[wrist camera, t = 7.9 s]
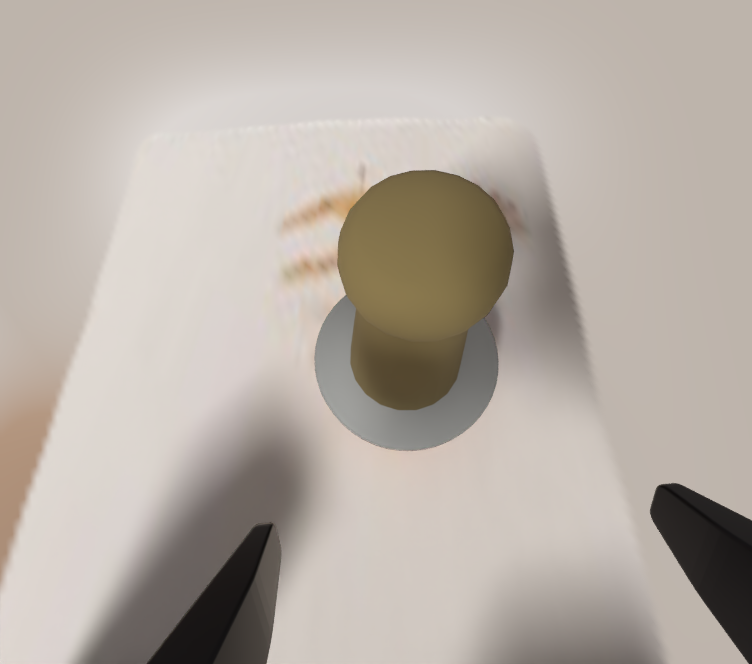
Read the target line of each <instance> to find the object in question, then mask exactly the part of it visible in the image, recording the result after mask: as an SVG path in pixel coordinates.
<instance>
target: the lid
mask: <svg viewBox="0 0 752 664" xmlns="http://www.w3.org/2000/svg"><path fill="white" fill-rule="evenodd" d="M355 312H356V307H355V306H354V305H353V304H352V302H351V301H350V300H349V299H348V297H347V295H346V296H345V297H343V298H342V299H341V300H340V301H339V302H338V303H337V304H336V305H335V306H334V307H333V309H332V310H331V312H330V313H329V314H328V316H327V317H326V319H325V321H324V323H323V325H322V327H321V330H320V332H319V335H318V339H317V343H316V348H315V372H316V377H317V382H318V385H319V388H320V391H321V394H322V396H323V398H324V400H325V402H326V404H327V405H328V406H329V408H330V409H331V411H332V412H333V414H334V415H335V416H336V417H337V419H338V420H339V421H340V422H341V423H342V424H343V425H344V426H345V427H346V428H347V429H349V430H350V431H351V432H352V433H354V434H355V435H357V436H358V437H360V438H361V439H363V440H365V441H367V442H369V443H372V444H374V445H377V446H380V447H383V448H386V449H392V450H399V451H416V450H424V449H428V448H432V447H436V446H439V445H441V444H444V443H446V442H448V441H450V440H452V439H454V438H455V437H457V436H459V435H460V434H462V433H463V432H464V431H466V430H467V429H468V428H469V427H471V426H472V425H473V424H474V423H475V422H476V421H477V419H478V418H479V417H480V416H481V415H482V413H483V412H484V410H485V409H486V407H487V406H488V404H489V402H490V400H491V398H492V395H493V392H494V389H495V386H496V382H497V376H498V354H497V347H496V344H495V340H494V337H493V334H492V332H491V329H490V327H489V325H488V324H487V322H486V320H485V318H483V319H481V320H480V321H479V322H477V323H476V324H475V325H473V326H472V327H470V328H469V329H468V333H467V338H466V342H465V347H464V351H463V355H462V360H461V364H460V368H459V372H458V377H457V380H456V381H455V383H454V384H453V386H452V387H451V389H450V391H449V392H448V394H446V395H445V396H444V397H442V398H441V399H440V400H439V401H437V402H436V403H435V404H433V405H430V406H427V407H424V408H421V409H418V410H395V409H392V408H389V407H386V406H383V405H380V404H379V403H377V402H376V401H374V400H373V399H372V398H370V397H369V396H368V395H366V394H365V393H364V391H363V390H362V388H361V387H360V386H359V384H358V383H357V382H356V380H355V377H354V374H353V371H352V368H351V364H350V357H351V342H352V334H353V327H354V319H355Z"/></svg>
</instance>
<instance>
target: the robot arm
mask: <svg viewBox="0 0 752 664" xmlns="http://www.w3.org/2000/svg"><path fill="white" fill-rule="evenodd" d="M650 514H651V518H652V520H653V522H654V524H655V525H656V527H657V529H658V530H659V532H660V533H661V535H662V537H663V538H664V540H665V542H666V543H667V545H668V546H669V548H670V550H671V551H672V553H673V555H674V556H675V558H676V559H677V561H678V563H679V564H680V566H681V568H682V569H683V570H684V572H685V574H686V576H687V577H688V579H689V580H690V582H691V584H692V585H693V586H694V588H695V590H696V591H697V593H698V594H699V596H700V597H701V598H702V600H703V601H704V603H705V604H706V606H707V607H708V608H709V610H710V611H711V612H712V614H713V615H714V616H715V618H716V619H717V620H718V622H719V623H720V625H721V626H722V627H723V629H724V630H725V632H726V633H727V634H728V636H729V637H730V638H731V640H732V641H733V643H734V644H735V645H736V647H737V648H738V649H739V651H740V652H741V653H742V655H743V656H744V657H745V659H746V660H747V662H748V663H749V664H752V521H751V520H750V519H748V518H745V517H744V516H742V515H740V514H738V513H736V512H734V511H732V510H730V509H728V508H726V507H724V506H722V505H720V504H718V503H716V502H714V501H712V500H710V499H708V498H706V497H704V496H702V495H700V494H698V493H696V492H694V491H692V490H690V489H689V488H686V487H685V486H682V485H680V484H676V483H671V484H661V485H659V486H658V487H657V488H656V491H655V494H654V498H653V501H652V504H651V509H650ZM280 563H281V546H280V542H279V538H278V534H277V530H276V526H275V524H274V523H271V522H270V523H260V524H257V525H255V526H254V527H253V528H252V530H251V531H250V532H249V533H248V535H247V536H246V537H245V539H244V540H243V541H242V542H241V544H240V545H239V546H238V548H237V549H236V550H235V551H234V553H233V554H232V555H231V556H230V558H229V559H228V560H227V562H226V563H225V564H224V565H223V567H222V568H221V569H220V570H219V572H218V573H217V574H216V576H215V577H214V578H213V579H212V581H211V582H210V583H209V585H208V586H207V587H206V588H205V590H204V591H203V592H202V593H201V595H200V596H199V597H198V599H197V600H196V601H195V602H194V604H193V605H192V606H191V608H190V609H189V610H188V611H187V613H186V614H185V615H184V616H183V618H182V619H181V620H180V622H179V623H178V624H177V625H176V627H175V628H174V629H173V630H172V632H171V633H170V634H169V636H168V637H167V638H166V639H165V641H164V642H163V643H162V645H161V646H160V647H159V648H158V650H157V651H156V652H155V653H154V655H153V656H152V657H151V659H150V660H149V661H148V662H147V664H266V663H267V658H268V654H269V649H270V643H271V638H272V631H273V624H274V615H275V606H276V598H277V589H278V580H279V571H280Z"/></svg>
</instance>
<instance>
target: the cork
mask: <svg viewBox="0 0 752 664" xmlns="http://www.w3.org/2000/svg"><path fill="white" fill-rule="evenodd" d="M513 253H514V249H513V244H512V238H511V233H510V228H509V226H508V223H507V221H506V219H505V217H504V215H503V214H502V212H501V210H500V209H499V207H498V205H497V203H496V202H495V200H494V199H493V198H491V197H490V196H489V195H488V194H487V193H486V192H485V191H484V190H483V189H481V188H480V187H479V186H478V185H476V184H474V183H472V182H470V181H468V180H466V179H464V178H462V177H460V176H458V175H454V174H449V173H445V172H440V171H436V170H424V171H409V172H405V173H401V174H397V175H393V176H390V177H388V178H386V179H384V180H383V181H381V182H379V183H377V184H376V185H374V186H372V187H371V188H370V189H369V190H368V191H367V192H366V193H365V194H364V195H363V196H362V197H361V198H360V199H359V200H358V202H357V203H356V204H355V205H354V206H353V207H352V208H351V209H350V211H349V213H348V215H347V217H346V220H345V222H344V224H343V227H342V229H341V232H340V236H339V241H338V261H337V265H338V269H339V273H340V277H341V280H342V283H343V286H344V289H345V292H346V295H347V297H348V299H349V300H350V301H351V302H352V304H353V305H354V306H355V307H356V312H355V319H354V327H353V334H352V342H351V357H350V364H351V368H352V371H353V374H354V377H355V380H356V382H357V383H358V384H359V386H360V387H361V388H362V390H363V391H364V393H365V394H366V395H368V396H369V397H370V398H372V399H373V400H374V401H376V402H377V403H379V404H380V405H383V406H386V407H389V408H392V409H395V410H418V409H421V408H424V407H427V406H430V405H433V404H435V403H436V402H437V401H439V400H440V399H441V398H442V397H444V396H445V395H446V394H448V392H449V391H450V389H451V387H452V386H453V384H454V383H455V381H456V380H457V377H458V372H459V368H460V364H461V360H462V355H463V351H464V347H465V342H466V338H467V333H468V329H469V328H470V327H472V326H473V325H475V324H476V323H477V322H479V321H480V320H481V319H483V318H484V317H486V316H487V315H488V313H489V312H490V311H491V309H492V308H493V306H494V305H495V303H496V302H497V300H498V299H499V297H500V296H501V294H502V293H503V291H504V290H505V288H506V287H507V284H508V279H509V274H510V270H511V265H512V259H513Z"/></svg>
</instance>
